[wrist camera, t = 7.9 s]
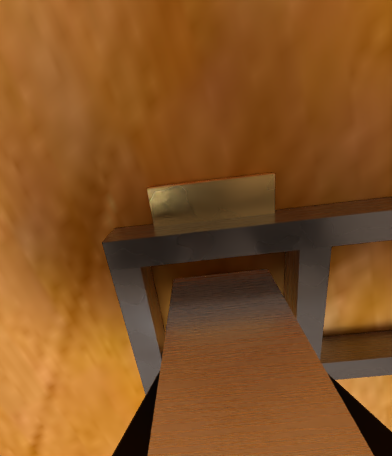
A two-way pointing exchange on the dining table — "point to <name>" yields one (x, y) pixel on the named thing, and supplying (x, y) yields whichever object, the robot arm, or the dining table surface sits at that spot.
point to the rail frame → (243, 246)
